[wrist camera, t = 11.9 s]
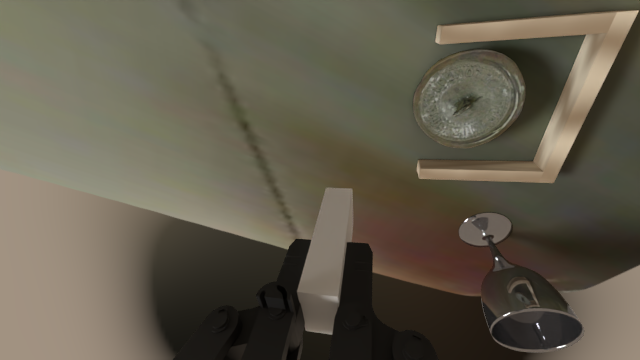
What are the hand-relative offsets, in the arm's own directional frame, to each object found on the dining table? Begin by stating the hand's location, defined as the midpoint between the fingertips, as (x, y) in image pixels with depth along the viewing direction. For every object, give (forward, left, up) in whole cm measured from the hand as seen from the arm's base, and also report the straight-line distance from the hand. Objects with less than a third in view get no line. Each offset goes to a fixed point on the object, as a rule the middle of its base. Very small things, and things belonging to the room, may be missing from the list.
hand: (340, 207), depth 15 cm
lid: (0, +11, -21) cm, 24 cm away
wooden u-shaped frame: (+1, +15, -20) cm, 25 cm away
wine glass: (+20, +19, -21) cm, 34 cm away
